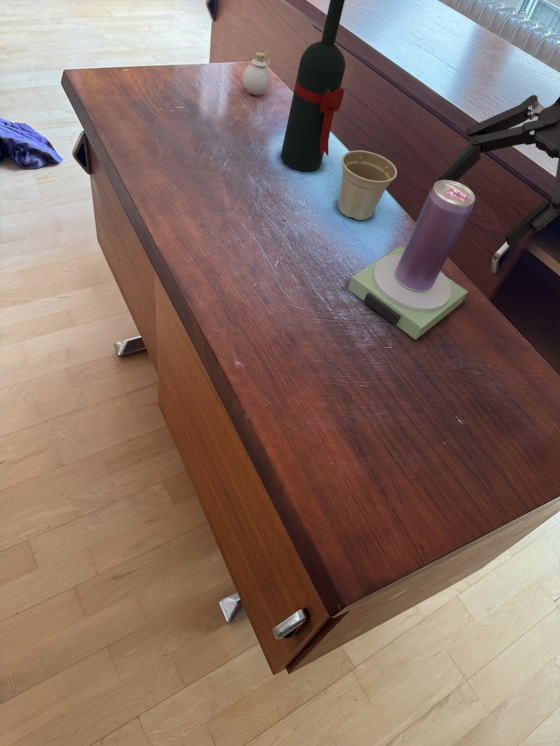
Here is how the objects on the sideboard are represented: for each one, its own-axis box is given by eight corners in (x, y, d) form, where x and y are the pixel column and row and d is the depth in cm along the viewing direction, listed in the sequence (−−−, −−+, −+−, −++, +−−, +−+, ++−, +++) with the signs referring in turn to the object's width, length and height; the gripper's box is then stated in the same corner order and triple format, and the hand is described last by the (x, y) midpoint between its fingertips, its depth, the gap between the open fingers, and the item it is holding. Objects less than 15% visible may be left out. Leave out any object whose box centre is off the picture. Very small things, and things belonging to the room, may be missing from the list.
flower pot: (346, 188, 104) (359, 143, 97) (390, 212, 101) (406, 168, 95) (318, 207, 98) (331, 162, 92) (364, 233, 96) (380, 188, 89)
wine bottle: (301, 182, 102) (345, -7, 80) (272, 152, 107) (307, -35, 85) (336, 175, 106) (388, -7, 83) (306, 147, 111) (348, -33, 88)
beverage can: (423, 299, 82) (467, 211, 71) (387, 280, 83) (425, 190, 72) (438, 279, 86) (483, 193, 74) (403, 261, 87) (442, 173, 76)
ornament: (261, 86, 124) (268, 37, 117) (276, 103, 120) (285, 53, 113) (236, 87, 122) (242, 37, 114) (251, 104, 118) (258, 53, 110)
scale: (461, 303, 88) (470, 287, 86) (413, 342, 81) (421, 325, 78) (396, 257, 93) (402, 241, 90) (344, 290, 85) (350, 273, 83)
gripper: (677, 162, 72) (541, 279, 77) (534, 72, 84) (423, 177, 88) (686, 126, 66) (536, 256, 70) (530, 34, 78) (410, 150, 82)
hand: (473, 212), depth 79 cm, fingers open, 13 cm apart
